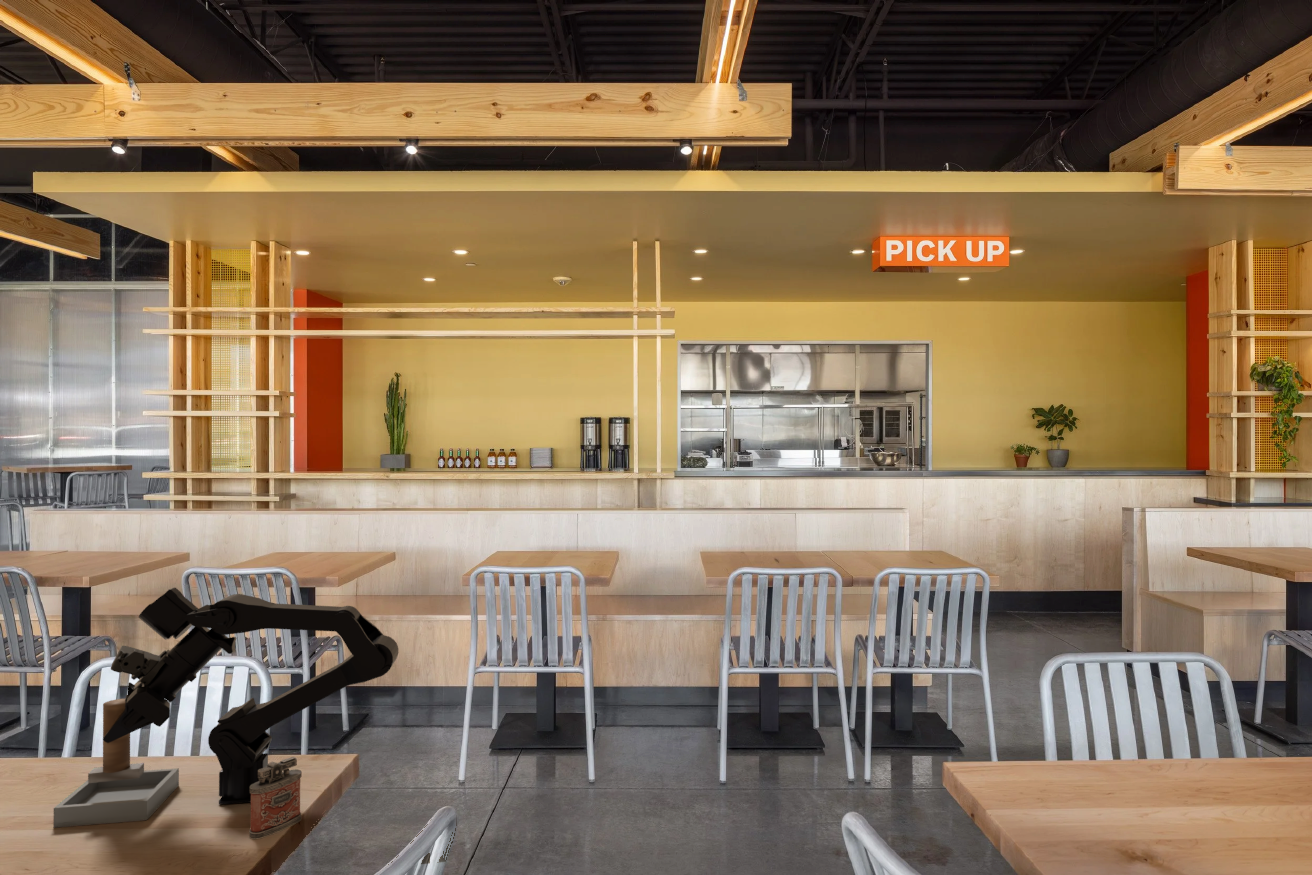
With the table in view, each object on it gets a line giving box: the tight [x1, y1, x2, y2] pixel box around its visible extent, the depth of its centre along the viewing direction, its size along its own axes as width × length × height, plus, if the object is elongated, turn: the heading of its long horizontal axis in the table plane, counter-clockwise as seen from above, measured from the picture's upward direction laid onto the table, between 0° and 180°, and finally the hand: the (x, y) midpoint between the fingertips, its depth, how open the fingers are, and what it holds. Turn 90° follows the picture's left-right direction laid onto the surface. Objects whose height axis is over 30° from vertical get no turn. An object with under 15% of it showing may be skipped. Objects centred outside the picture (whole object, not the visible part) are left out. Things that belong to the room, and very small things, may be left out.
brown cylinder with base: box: [87, 698, 145, 783], centre depth 127 cm, size 7×4×12 cm, turn 106°
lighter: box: [248, 756, 303, 840], centre depth 123 cm, size 8×3×10 cm, turn 148°
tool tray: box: [52, 767, 180, 828], centre depth 130 cm, size 13×13×3 cm
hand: (106, 737), depth 127 cm, fingers closed on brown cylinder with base, 4 cm apart
